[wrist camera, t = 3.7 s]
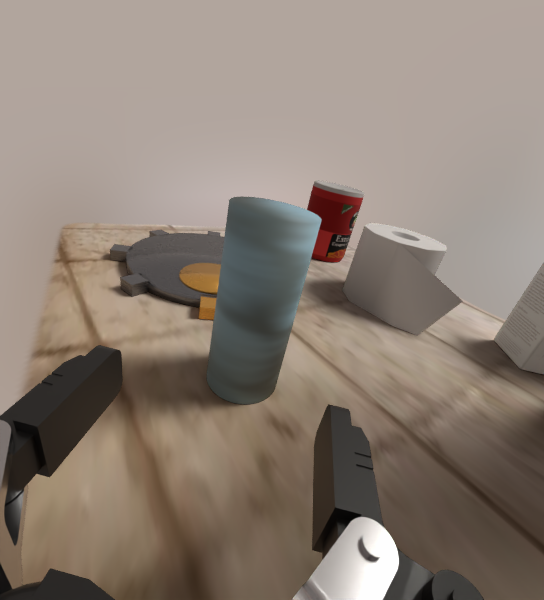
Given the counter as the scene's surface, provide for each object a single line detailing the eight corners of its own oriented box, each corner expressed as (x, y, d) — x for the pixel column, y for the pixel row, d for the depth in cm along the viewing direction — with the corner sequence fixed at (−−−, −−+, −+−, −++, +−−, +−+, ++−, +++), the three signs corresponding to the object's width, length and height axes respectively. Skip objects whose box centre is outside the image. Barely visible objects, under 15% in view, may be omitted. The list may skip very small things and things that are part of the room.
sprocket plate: (248, 239, 50) (250, 230, 50) (334, 304, 35) (338, 292, 34) (102, 237, 39) (101, 226, 38) (136, 333, 24) (136, 317, 23)
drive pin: (255, 349, 25) (287, 200, 19) (289, 392, 21) (340, 225, 16) (196, 362, 22) (214, 193, 17) (224, 413, 19) (258, 221, 13)
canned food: (333, 267, 47) (356, 193, 42) (289, 249, 50) (305, 179, 45) (349, 257, 53) (371, 192, 48) (309, 242, 56) (325, 180, 51)
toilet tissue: (428, 347, 31) (471, 270, 27) (328, 289, 39) (349, 223, 35) (457, 325, 37) (495, 260, 33) (365, 279, 45) (387, 222, 41)
